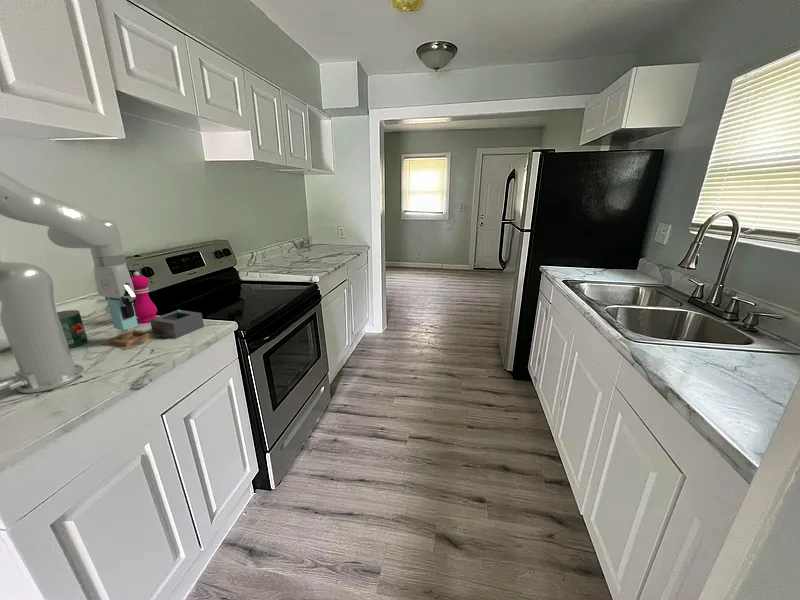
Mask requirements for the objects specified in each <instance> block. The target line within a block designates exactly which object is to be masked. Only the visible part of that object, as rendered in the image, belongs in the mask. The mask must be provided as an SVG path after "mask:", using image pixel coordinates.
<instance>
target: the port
mask: <svg viewBox="0 0 800 600" xmlns="http://www.w3.org/2000/svg"><path fill="white" fill-rule="evenodd" d="M149 324H150V328H151V331H152V335H157V336H162V337H166V338H171V339H178V338H179V339H180V338H181V337H183V336H186V335H188V334H191V333H193V332H196V331H197V330H200V329H203V328H205V324H204V320H203V313H202V312H197V311H189V310H183V309H177V310H174V311H171V312H169V313H164V314H162V315H159V316H157V317H156V318H153V319H150V323H149Z"/></svg>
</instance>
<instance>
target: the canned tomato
mask: <svg viewBox="0 0 800 600" xmlns="http://www.w3.org/2000/svg"><path fill="white" fill-rule="evenodd" d="M57 314H58V317H59V320H60V323H61V326H62V329H63V332H64V335H65V338H66V341H67V344H68V347H69V349H73V348H77V347H80V346H83V345H85V344H87V343H88V341H89V340H88V335H87V333H86V330H85V326H84V323H83V319H82V316H81V313H80V310H76V309H70V310H63V311H57Z"/></svg>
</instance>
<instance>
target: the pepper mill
mask: <svg viewBox="0 0 800 600" xmlns="http://www.w3.org/2000/svg"><path fill="white" fill-rule="evenodd" d="M130 277H131V280H132V283H133V287H134V294H135V296H136V298H135V299H134V301H135V302H134V305H133V306H134V311H135V315H136V319H137V323H138V324H143V325H144V324H151V323H150V319H153V318H156V317H158V316H157V315H156V314H157V313H158V308H157V306H156V304H155V303H154V302H153V301H152V300H151V298H150V296H149V291H150V290H149V289H150V288H149V287H148V286H149V285H150V284H149V283H150V281H149V279H148V277H146V276H144V275H140V272H139V271H134V272H133V276H130Z"/></svg>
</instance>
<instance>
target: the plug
mask: <svg viewBox="0 0 800 600" xmlns="http://www.w3.org/2000/svg"><path fill="white" fill-rule="evenodd" d="M124 296H126V294H124ZM126 299H127V298H124V301H125V300H126ZM106 302H107V305H108V309H109V313H110V318H111V320H112V321H111V322H112V324H113V328H114V329H116V330H121V331H125V330H128V329H131V328H134V327H137V326H138V324H139V323H138V322H137V319H138V318H137V317H136V315H135V316H133V317H129V318H126V319H124V318H123V315H122V311H121V307H122V305H121V303H120V300H119V299H116V298H109V299H106ZM134 306H135V305H133V310H134ZM134 314H135V311H134Z"/></svg>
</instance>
